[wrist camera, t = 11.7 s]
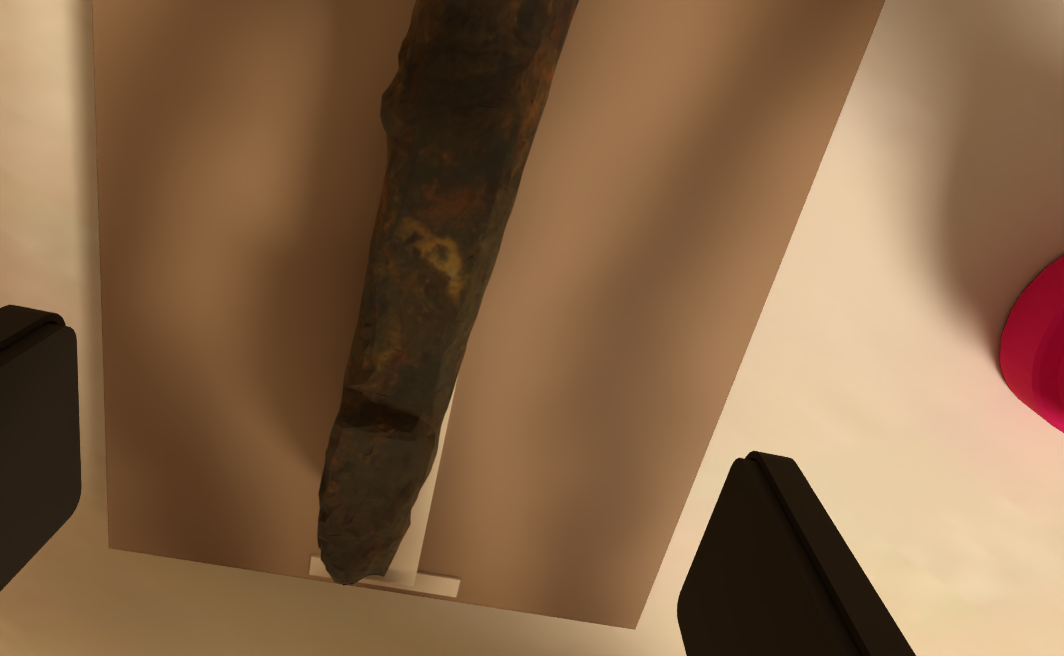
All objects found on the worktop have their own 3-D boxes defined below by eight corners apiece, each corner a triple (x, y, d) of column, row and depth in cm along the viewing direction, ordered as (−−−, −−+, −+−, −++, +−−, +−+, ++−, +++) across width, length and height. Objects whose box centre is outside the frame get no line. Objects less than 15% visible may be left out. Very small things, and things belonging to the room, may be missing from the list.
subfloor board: (960, -255, 15) (997, -277, 14) (630, 603, 26) (635, 631, 25) (110, -522, 13) (71, -574, 12) (127, 523, 24) (107, 550, 23)
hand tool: (456, -216, 14) (428, -309, 10) (634, -140, 15) (677, -197, 11) (283, 485, 22) (225, 600, 18) (406, 518, 22) (379, 636, 18)
